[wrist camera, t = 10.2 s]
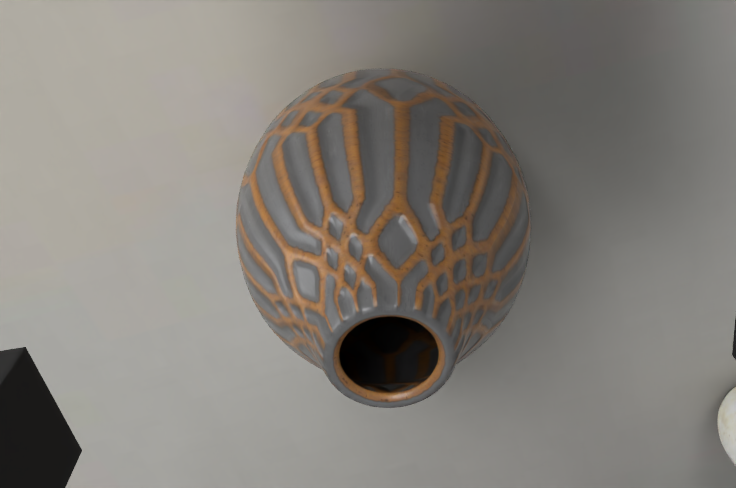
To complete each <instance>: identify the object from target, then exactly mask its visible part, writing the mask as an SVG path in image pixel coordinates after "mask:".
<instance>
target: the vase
mask: <svg viewBox="0 0 736 488" xmlns="http://www.w3.org/2000/svg"><path fill="white" fill-rule="evenodd" d="M236 237H237V246H238V253H239V259H240V263H241V267H242V271H243V275H244V278H245V281H246V284H247V286H248V289H249V292H250V294H251V296H252V299H253V301H254V303H255V305H256V306H257V308H258V310H259V312H260V313H261V315H262V317H263V318H264V320H265V321H266V323H267V324H268V325H269V327H270V328H271V329H272V330H273V332H274V333H275V334H276V335H277V336H278V337H279V338H280V339H281V340H282V341H283V342H284V343H285V344H286V345H287V346H288V347H289V348H290V349H292V350H293V351H294V352H295V353H297V354H298V355H299V356H301V357H302V358H304V359H305V360H307V361H308V362H310V363H312V364H313V365H315V366H317V367H319V368H320V369H322V370H323V371H324V372H325V374H326V376H327V377H328V379H329V380H330V382H331V383H332V384H333V385H334V386H335V387H336V388H337V389H338V390H339V391H340V392H341V393H343V394H344V395H345V396H347V397H349V398H350V399H352V400H354V401H356V402H359V403H362V404H365V405H369V406H373V407H381V408H395V407H403V406H407V405H411V404H414V403H417V402H420V401H422V400H424V399H426V398H428V397H429V396H431V395H432V394H434V393H435V392H436V391H438V390H439V389H440V388H441V387H442V386H443V385H444V384H445V382H446V381H447V380H448V378H449V377H450V375H451V374H452V372H453V370H454V368H455V366H456V364H457V363H459V362H460V361H462V360H463V359H465V358H466V357H467V356H469V355H470V354H471V353H473V352H474V351H475V350H476V349H477V348H479V347H480V346H481V345H482V344H483V343H484V342H485V341H486V340H487V339H488V338H489V337H490V336H491V335H492V334H493V333H494V331H495V330H496V329H497V328H498V326H499V325H500V324H501V323H502V321H503V320H504V318H505V317H506V315H507V314H508V312H509V310H510V308H511V307H512V305H513V303H514V301H515V298H516V296H517V294H518V292H519V289H520V286H521V284H522V281H523V277H524V274H525V270H526V266H527V261H528V255H529V248H530V237H531V214H530V206H529V198H528V193H527V188H526V185H525V181H524V178H523V175H522V172H521V170H520V167H519V165H518V162H517V160H516V158H515V155H514V154H513V152H512V150H511V148H510V146H509V144H508V143H507V141H506V139H505V138H504V136H503V135H502V133H501V132H500V131H499V129H498V128H497V127H496V125H495V124H494V123H493V121H492V120H491V119H490V117H489V116H488V115H487V114H486V113H485V112H484V111H483V110H482V109H481V108H480V107H479V106H478V105H477V104H476V103H475V102H473V101H472V100H471V99H469V98H468V97H467V96H465V95H464V94H462V93H461V92H459V91H458V90H456V89H454V88H453V87H451V86H449V85H447V84H445V83H444V82H442V81H439V80H437V79H435V78H432V77H429V76H426V75H423V74H420V73H416V72H412V71H406V70H399V69H381V68H380V69H366V70H359V71H354V72H350V73H346V74H342V75H339V76H336V77H333V78H331V79H328V80H326V81H324V82H322V83H320V84H318V85H316V86H314V87H313V88H311V89H309V90H308V91H306V92H305V93H303V94H302V95H300V96H299V97H298V98H296V99H295V100H294V101H293V102H291V103H290V104H289V105H288V106H287V107H286V108H285V109H284V110H283V111H282V112H281V113H279V115H278V116H277V117H276V118H275V119H274V120H273V122H272V123H271V124H270V126H269V127H268V128H267V130H266V131H265V133H264V134H263V136H262V138H261V139H260V141H259V143H258V144H257V146H256V148H255V150H254V152H253V154H252V156H251V159H250V161H249V163H248V166H247V168H246V171H245V174H244V177H243V181H242V184H241V188H240V192H239V197H238V202H237V212H236Z"/></svg>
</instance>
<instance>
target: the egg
mask: <svg viewBox="0 0 736 488" xmlns="http://www.w3.org/2000/svg"><path fill="white" fill-rule="evenodd" d="M717 424H718V432H719V437H720V440H721V443H722V445H723V447H724V449H725V451H726V453H727V454H728V456H729V457H730V459H731V460H732V462H733V463H734V464H735V466H736V387H734V388H733V389H732V390H731V391H730V392H729V393H728V394H727V395H726V396H725V398H724V399H723V401H722V403H721V405H720V408H719V412H718V420H717Z"/></svg>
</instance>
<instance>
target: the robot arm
mask: <svg viewBox="0 0 736 488" xmlns="http://www.w3.org/2000/svg"><path fill="white" fill-rule="evenodd" d="M732 355H733V357H734V358H735V359H736V320H735V330H734V341H733V352H732ZM81 452H82V450H81V448H80V446H79V444H78V442H77V440H76V439H75V437H74V435H73V433H72V431H71V429H70V428H69V426H68V424H67V422H66V420H65V418H64V417H63V415H62V413H61V411H60V409H59V407H58V406H57V404H56V402H55V400H54V398H53V397H52V395H51V393H50V391H49V389H48V387H47V386H46V384H45V382H44V380H43V378H42V376H41V375H40V373H39V371H38V369H37V367H36V365H35V364H34V362H33V360H32V358H31V356H30V354H29V353H28V351H27V349H26V347H23V348H16V349H10V350H4V351H0V488H65V487H66V485H67V482H68V480H69V478H70V476H71V474H72V471H73V469H74V467H75V465H76V463H77V460H78V458H79V456H80V454H81Z"/></svg>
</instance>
